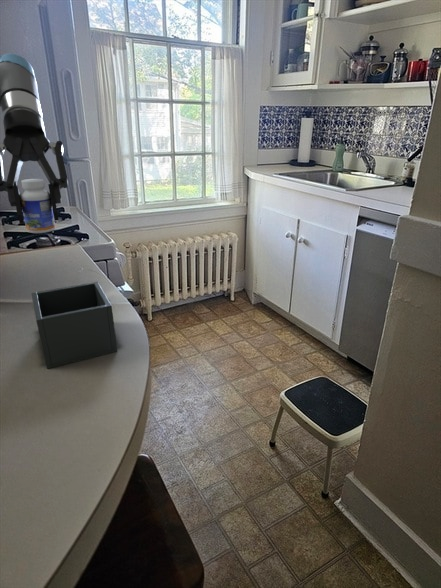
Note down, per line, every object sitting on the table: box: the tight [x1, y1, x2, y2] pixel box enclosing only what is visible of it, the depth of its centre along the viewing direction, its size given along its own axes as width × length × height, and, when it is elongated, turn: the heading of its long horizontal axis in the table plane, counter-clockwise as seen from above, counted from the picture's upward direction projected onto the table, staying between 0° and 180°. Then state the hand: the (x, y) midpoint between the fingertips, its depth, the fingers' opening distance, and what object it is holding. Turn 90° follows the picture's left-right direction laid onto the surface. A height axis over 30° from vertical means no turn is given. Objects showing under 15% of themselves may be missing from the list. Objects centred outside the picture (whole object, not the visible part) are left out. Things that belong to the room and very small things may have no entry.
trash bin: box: [31, 281, 118, 370], centre depth 66 cm, size 11×11×9 cm
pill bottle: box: [20, 178, 56, 234], centre depth 76 cm, size 5×5×10 cm
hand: (38, 217), depth 74 cm, fingers closed on pill bottle, 5 cm apart
